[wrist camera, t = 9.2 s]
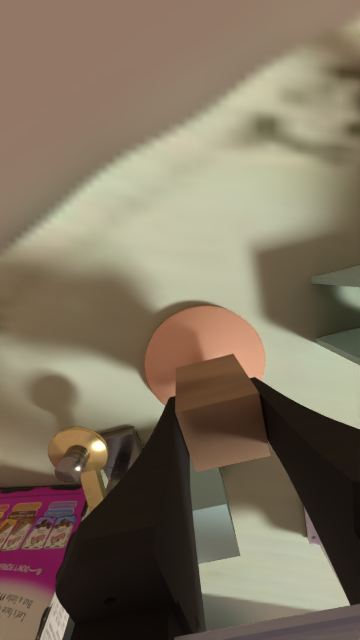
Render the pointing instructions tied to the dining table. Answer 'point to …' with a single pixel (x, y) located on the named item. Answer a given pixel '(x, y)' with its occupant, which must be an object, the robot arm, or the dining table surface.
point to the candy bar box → (35, 558)
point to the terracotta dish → (200, 345)
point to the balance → (93, 458)
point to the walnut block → (219, 413)
